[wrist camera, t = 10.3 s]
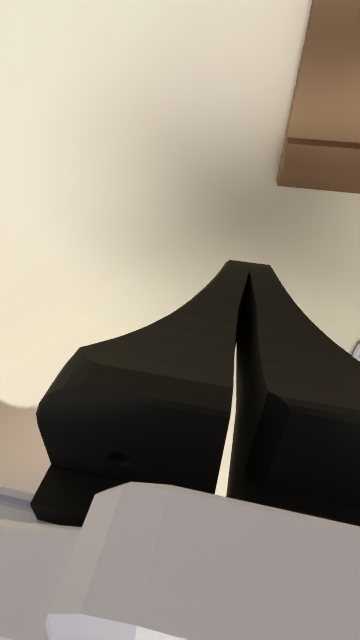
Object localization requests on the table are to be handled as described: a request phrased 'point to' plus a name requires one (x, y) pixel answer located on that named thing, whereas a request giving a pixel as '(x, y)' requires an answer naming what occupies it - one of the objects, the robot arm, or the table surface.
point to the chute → (326, 103)
